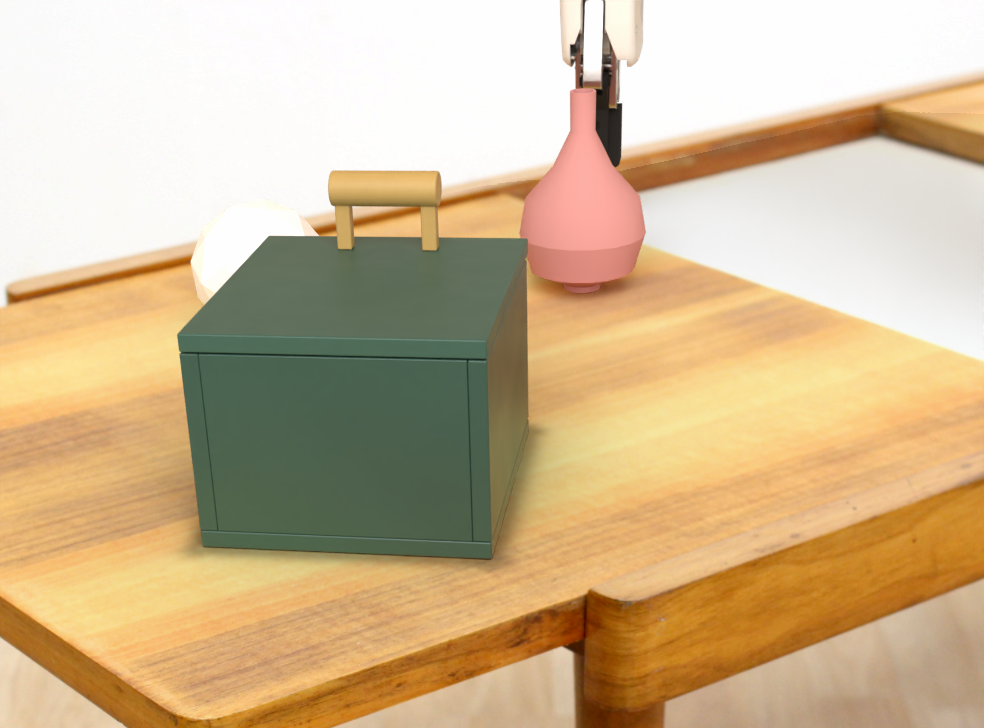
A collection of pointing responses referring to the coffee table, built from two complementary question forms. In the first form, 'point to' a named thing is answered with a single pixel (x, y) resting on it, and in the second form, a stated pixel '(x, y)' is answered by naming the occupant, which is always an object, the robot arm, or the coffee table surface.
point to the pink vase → (582, 211)
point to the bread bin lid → (365, 285)
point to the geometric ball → (239, 240)
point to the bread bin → (359, 447)
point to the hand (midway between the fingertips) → (597, 164)
